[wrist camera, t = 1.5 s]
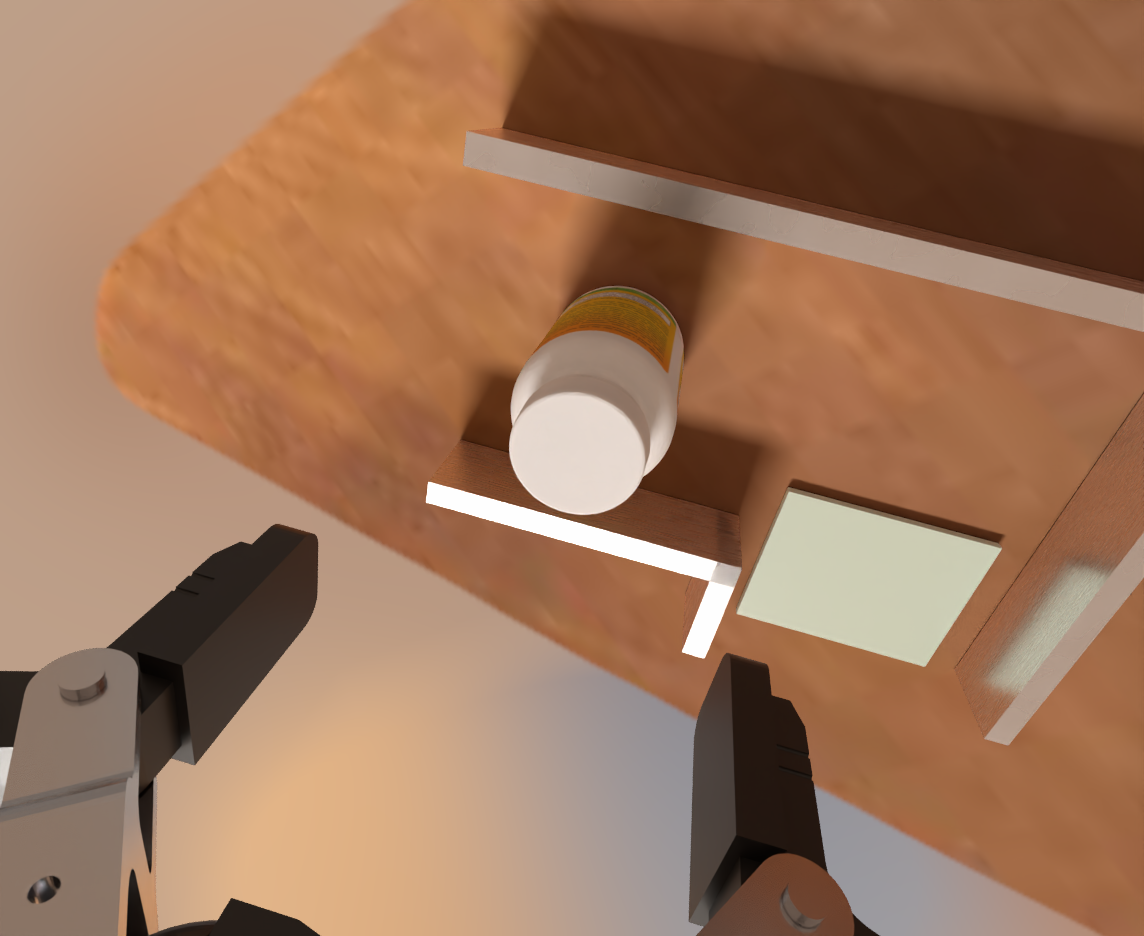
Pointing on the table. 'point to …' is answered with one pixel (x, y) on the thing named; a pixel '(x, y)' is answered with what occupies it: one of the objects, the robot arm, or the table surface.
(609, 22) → the table surface
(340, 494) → the table surface
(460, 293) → the table surface
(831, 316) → the table surface
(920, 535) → the pad
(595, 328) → the supplement bottle
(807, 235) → the channel
